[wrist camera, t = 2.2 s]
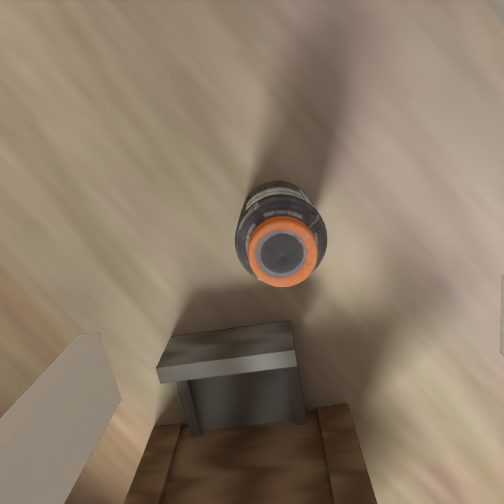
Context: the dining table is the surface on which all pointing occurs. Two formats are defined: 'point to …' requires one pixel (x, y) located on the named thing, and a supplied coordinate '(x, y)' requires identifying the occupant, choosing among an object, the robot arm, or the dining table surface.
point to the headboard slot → (248, 429)
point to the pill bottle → (280, 234)
